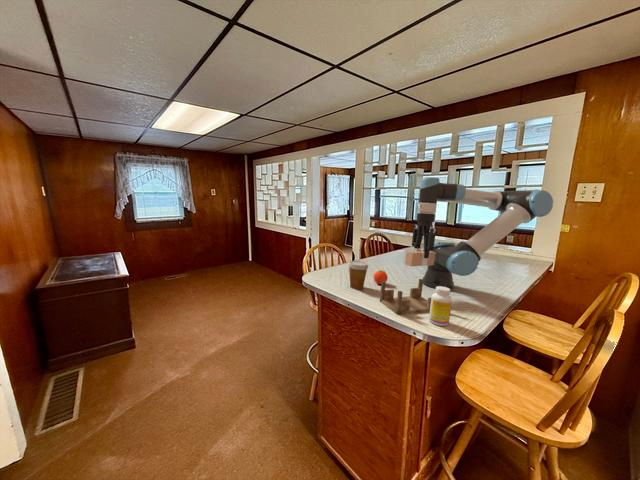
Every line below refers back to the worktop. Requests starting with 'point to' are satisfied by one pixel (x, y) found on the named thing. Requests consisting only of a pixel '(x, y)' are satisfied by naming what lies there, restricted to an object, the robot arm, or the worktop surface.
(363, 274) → the disposable coffee cup
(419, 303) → the rack
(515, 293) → the worktop surface
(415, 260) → the pinkish tan block
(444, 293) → the supplement bottle
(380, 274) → the clementine
